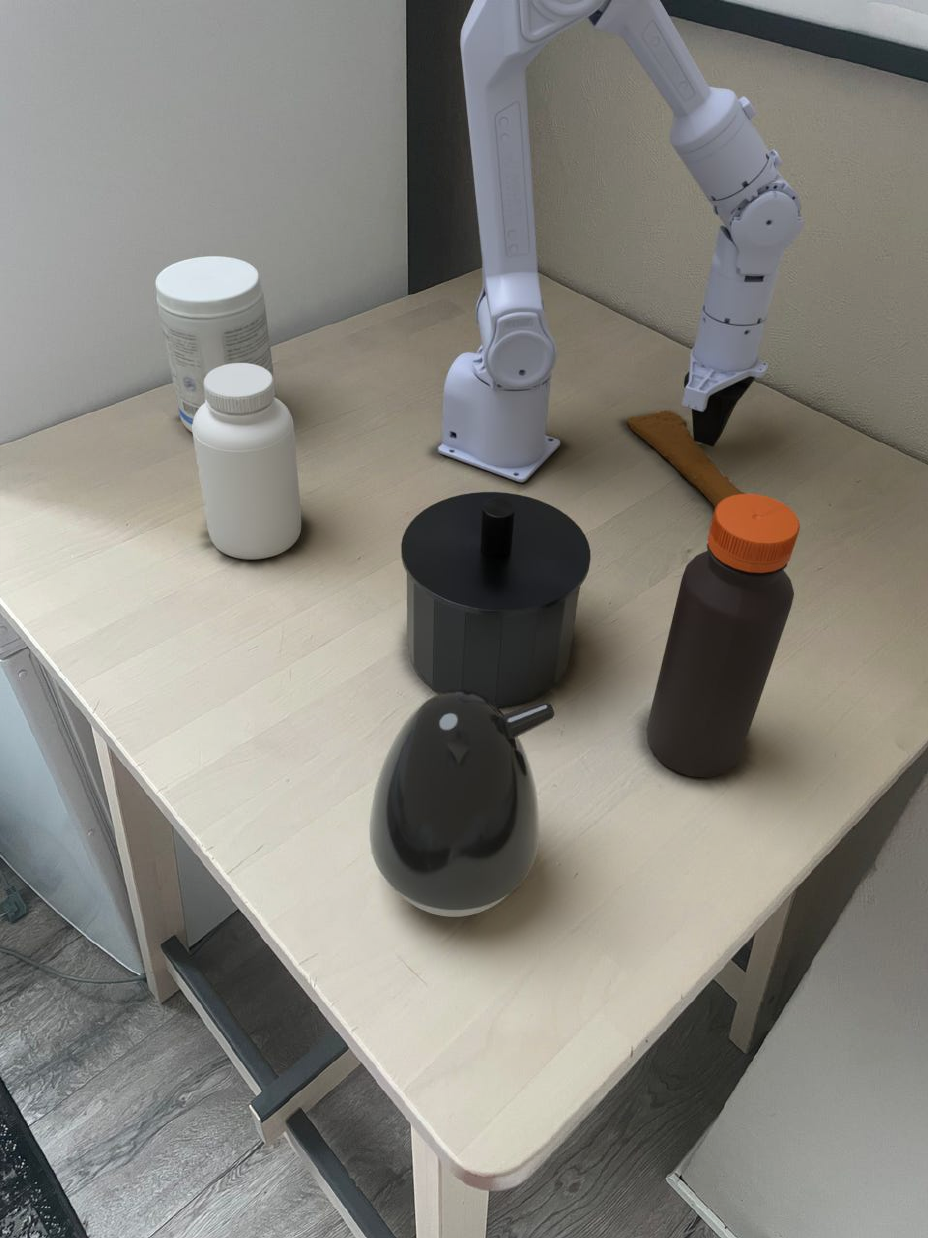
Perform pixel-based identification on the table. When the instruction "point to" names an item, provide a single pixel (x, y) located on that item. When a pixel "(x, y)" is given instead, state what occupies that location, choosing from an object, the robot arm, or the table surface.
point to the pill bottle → (247, 463)
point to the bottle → (723, 637)
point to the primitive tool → (683, 453)
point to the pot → (489, 648)
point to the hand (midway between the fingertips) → (705, 441)
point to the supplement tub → (210, 323)
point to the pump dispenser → (457, 804)
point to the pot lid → (495, 554)
